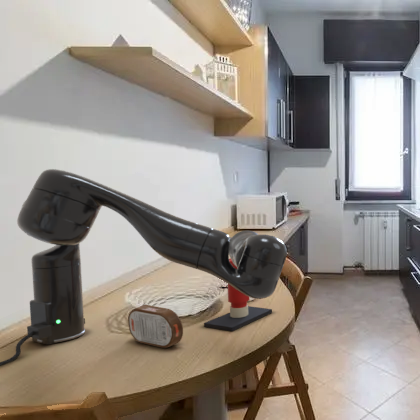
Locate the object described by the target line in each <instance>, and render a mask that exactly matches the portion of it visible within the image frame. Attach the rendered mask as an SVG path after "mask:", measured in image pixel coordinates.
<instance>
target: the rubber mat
mask: <svg viewBox="0 0 420 420" xmlns="http://www.w3.org/2000/svg"><path fill="white" fill-rule="evenodd" d="M272 313H273V308H267V307H257V306H251V305H248V315H247V316H245V317H241V318H233V317H231V316H230V312H227V313H225V314H222V315H220V316H217V317H215V318H213V319H211V320H208V321H205V322H204V323H203V328H210V329H215V330H222V331H228V332H234V331H236V330H238V329H240V328H243V327H244V326H247V325H249V324H251V323H253V322H256V321H257V320H260V319H262V318H264V317H266V316H268V315H271V314H272Z"/></svg>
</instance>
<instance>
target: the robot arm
mask: <svg viewBox="0 0 420 420" xmlns="http://www.w3.org/2000/svg"><path fill="white" fill-rule="evenodd" d="M102 207H104V208H105V207H106V208H108V209H109V210H111V211H113V212H115V213H117V214H119V215H120V216H121V217H123V219H125V220H126V221H127V222H128V223H129V224H130V225H131V226H132V227H133V228H134V229H135V231H137V233H138V234H139V235H140V236H141V238H142V239H143V240H144V241H145V242H146V244H148V246H149V247H150V248H151V249H152V250H153V251H154V252H155V253H157V254H158V255H159V256H161V257H162V258H163V259H166V260H168V261H169V262H172V263H175V264H178V265H181V266H185V267H188V268H191V269H195V270H198V271H201V272H204V273H207V274H210V275H211V276H213V277H216V278H217V279H218V278H219V279H221V280H223V281H224V282H223V283H225V282H226V283H225V284H227V283H228V284H229V285H231V286H232V287H234V288H235V289H237V290H238V291H240V292H241V293H243V294H245V295H246V296H248V297H251V298H255V299H254V300H261V299H266V298H269V297H270V296H272V295H273V294H274V292H275V291H276V288H277V286H278V283H279V280H280V277H281V273H282V272H283V268H284V265H285V262H286V259H287V256H288V252H287V251H288V249H287V246H286V244H285V243H284V241H282V239H279V238H278V237H276V236H273V235H269V234H262V233H261V234H260V233H258V232H256V231H253V230H241V231H238V232H237V233H235V234H234V235H233V236H232V237H231V236H230V235H229V234H228V233H226V232H224V231H222V230H219V229H215V228H213V227H209V226H206V225H203V224H200V223H196V222H194V221H191V220H188V219H185V218H181V217H178V216H176V215H174V214H171V213H169V212H166V211H164V210H162V209H159V208H158V207H156V206H153V205H151V204H148V203H147V202H144V201H143V200H140V199H138V198H135V197H133V196H130V195H128V194H126V193H123V192H121V191H119V190H116V189H114V188H112V187H109V186H107V185H105V184H103V183H99V182H97V181H95V180H93V179H90V178H87V177H85V176H82V175H79V174H76V173H73V172H71V171H66V170H63V169H56V168H55V169H54V168H50V169H49V168H48V169H46V170H43V171H42V172H41V173H40V174H39V176H38V177H37V179H36V181H35V183H34V185H33V187H32V188H31V190H30V191H29V194H28V196H27V198H26V199H25V200H24V202H23V203H22V205H21V208H20V210H19V213H18V216H17V220H16V222H17V227H18V228H19V229H20V230H21V231H22V232H23V233H24V234H26V235H27V236H28V237H31V238H33V239H36V240H37V241H40V242H43V243H47V244H51V245H53V246H52V247H50V248H47V249H44V250H42V251H39V252H36V253H35V254H33V255H32V257H31V269H32V270H31V273H32V274H31V275H32V289H33V290H32V291H33V299H31V300H30V301H29V312H30V325H28V326H26V328H27V329H26V331H27V332H26V333H27V335H25V336H23V337H22V338H20V340H19V341H18V342H17V344H16V346H15V353H14V354H13V356H11V357H10V358H8V359H6V360H3V361H0V367H2V366H4V365H7V364H9V363H12V362H14V361H16V360H17V359H18V357H20V355H21V351H22V350H21V349H22V348H21V347H22V346H23V344H24V343H25V342H26V341H27V340H29V339H30V338H31V342H34V343H38V344H43V345H47V346H48V345H49V346H50V345H52V344H56V343H63V342H67V341H70V340H73V339H77V338H79V337H82V336H83V335H85V333H86V328H85V325H86V318H85V315H84V314H85V312H84V297H83V295H84V294H83V279H82V278H83V277H82V263H81V262H82V261H81V260H82V259H81V246H80V244H81V243H83V241H84V240H86V238H87V237H88V235H89V233H90V231H91V229H92V228H93V226H94V224H95V221H96V219H97V217H98V215H99V213H100V211H101V209H102ZM229 259H231V260H232V262H233V263H234V265H235V266H236V267H237V269H236V268H234V267H233V266H232V264H231V263H230V261H229ZM219 279H218V280H219Z"/></svg>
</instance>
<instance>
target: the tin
mask: <svg viewBox="0 0 420 420" xmlns="http://www.w3.org/2000/svg"><path fill="white" fill-rule="evenodd" d="M127 323H128V329H129V334H130V335H131V336H132V338H133V339H134V340H135V341H136V342H138V343H141V344H145V345H149V346H154V347H157V348H161V349H168V348H170V347H172V346H174V345H177V344H179V343H180V342H181V341H182V338H183V336H184V327H183V323H182V320H181V319H180V316H179V315H178V314H177V313H176V312H175V311H174V310H172V309H171V308H166V307H161V306H156V305H149V304H142V305H140V306H138V307H135V308H133V309H131V310H130V311H129V313H128V316H127Z"/></svg>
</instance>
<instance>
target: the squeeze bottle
mask: <svg viewBox="0 0 420 420" xmlns="http://www.w3.org/2000/svg"><path fill="white" fill-rule="evenodd" d="M229 261H230V263H231V264H232V266H233V267H234V268H236V269H237V267H236V266H235V265H234V263H233V262H232V260H231V258H229ZM248 302H250V301H249V297H248V296H246V295H245V294H243V293H241V292H240V291H238V290H237V289H235V288H234V287H232V286H231V285H229V284H228V287H227V303H230V306H229V313H230V316H231V317H233V318H241V317H245V316H247V315H248V306H249V305H248Z"/></svg>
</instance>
